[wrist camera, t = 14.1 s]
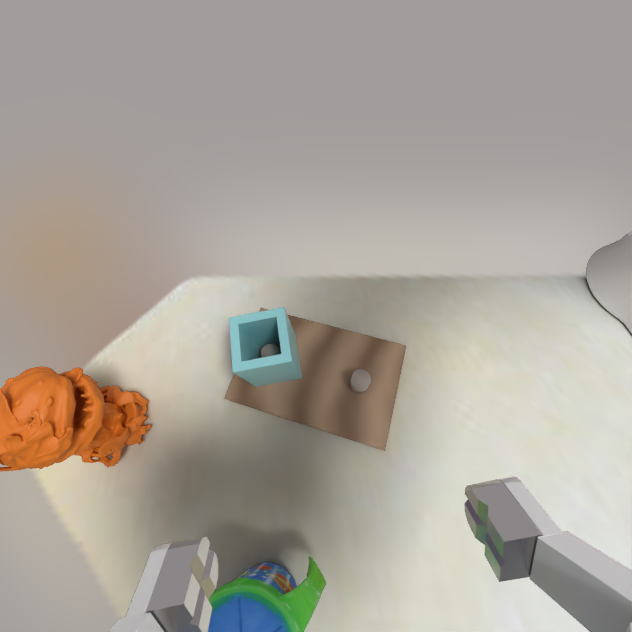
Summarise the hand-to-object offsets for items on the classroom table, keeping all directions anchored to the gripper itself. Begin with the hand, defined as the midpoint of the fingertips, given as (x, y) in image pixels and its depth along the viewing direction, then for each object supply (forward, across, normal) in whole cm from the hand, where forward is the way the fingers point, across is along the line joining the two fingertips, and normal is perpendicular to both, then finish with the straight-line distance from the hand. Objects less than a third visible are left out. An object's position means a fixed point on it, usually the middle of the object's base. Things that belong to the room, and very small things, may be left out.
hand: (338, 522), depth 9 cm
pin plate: (+30, +1, +14) cm, 33 cm away
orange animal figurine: (+29, +28, +16) cm, 44 cm away
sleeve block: (+31, +6, +11) cm, 33 cm away
